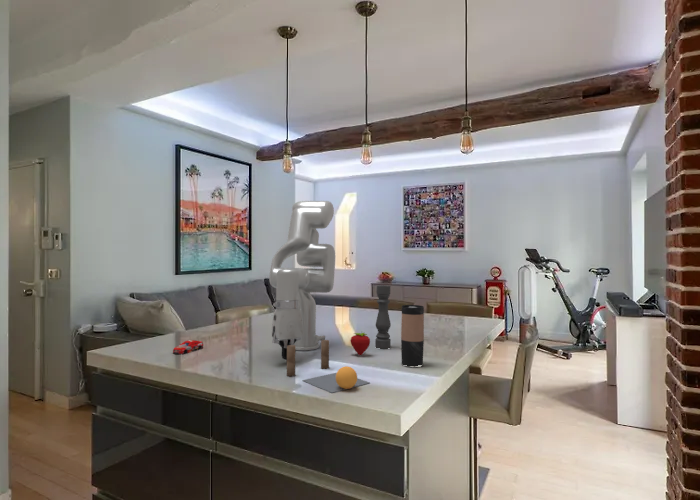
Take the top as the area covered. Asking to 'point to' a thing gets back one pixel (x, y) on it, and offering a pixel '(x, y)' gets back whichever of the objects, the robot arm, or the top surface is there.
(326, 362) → the post
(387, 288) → the candle holder
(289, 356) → the post
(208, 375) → the top surface
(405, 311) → the travel mug
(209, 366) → the top surface
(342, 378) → the ball
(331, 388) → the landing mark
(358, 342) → the strawberry
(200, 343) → the race car
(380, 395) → the top surface
